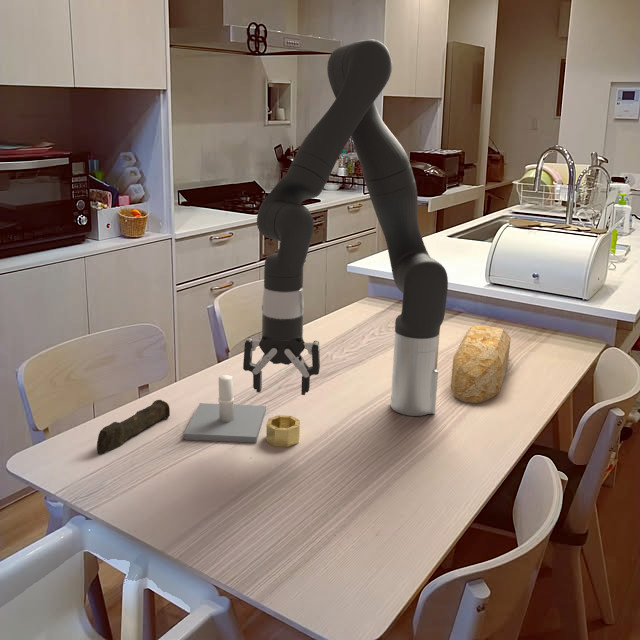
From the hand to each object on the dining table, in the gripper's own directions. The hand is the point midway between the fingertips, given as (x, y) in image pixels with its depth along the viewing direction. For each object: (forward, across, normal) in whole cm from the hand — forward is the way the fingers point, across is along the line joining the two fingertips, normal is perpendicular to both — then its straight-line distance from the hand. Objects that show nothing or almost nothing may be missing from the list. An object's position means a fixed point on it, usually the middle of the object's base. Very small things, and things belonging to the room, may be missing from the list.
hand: (281, 392), depth 135 cm
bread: (+9, -44, -39) cm, 59 cm away
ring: (+10, -1, 0) cm, 10 cm away
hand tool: (+11, +28, +2) cm, 30 cm away
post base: (+10, +11, -5) cm, 16 cm away
